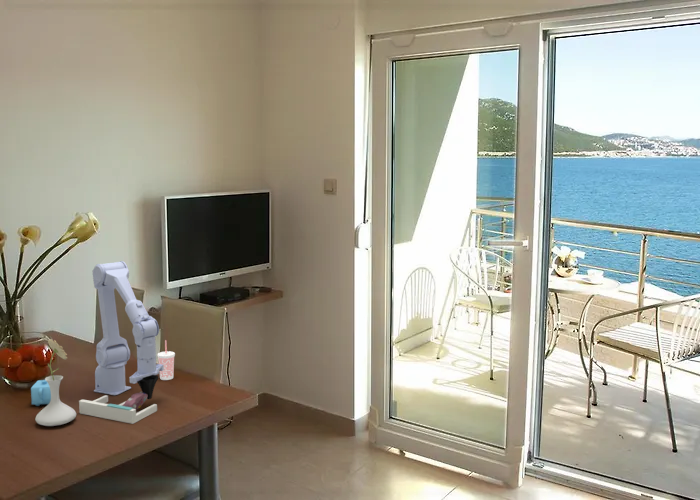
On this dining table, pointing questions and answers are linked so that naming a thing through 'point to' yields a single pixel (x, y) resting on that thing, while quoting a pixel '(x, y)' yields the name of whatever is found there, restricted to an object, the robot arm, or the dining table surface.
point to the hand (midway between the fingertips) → (147, 398)
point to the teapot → (40, 393)
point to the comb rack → (113, 410)
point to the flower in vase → (55, 397)
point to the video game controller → (136, 400)
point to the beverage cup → (166, 363)
